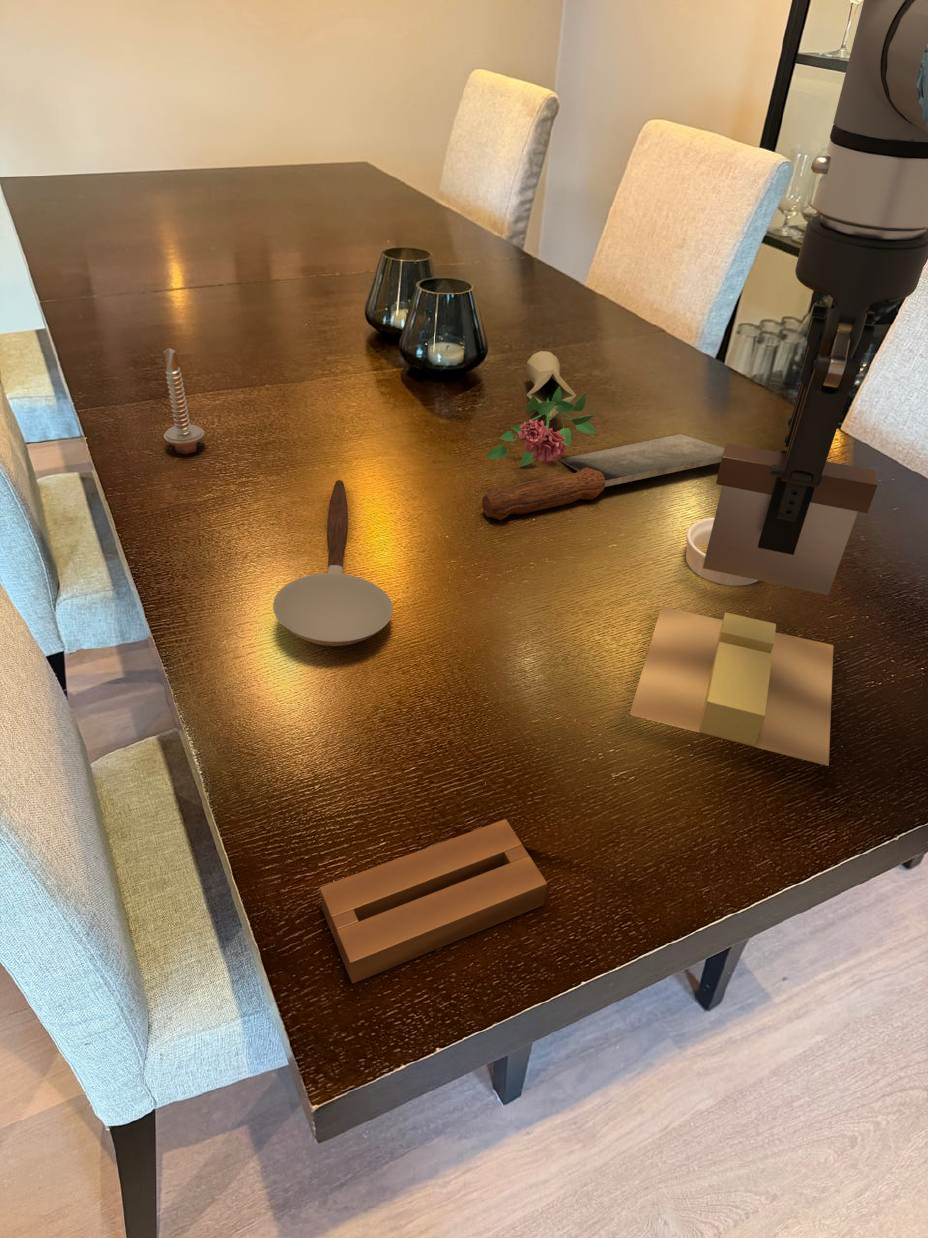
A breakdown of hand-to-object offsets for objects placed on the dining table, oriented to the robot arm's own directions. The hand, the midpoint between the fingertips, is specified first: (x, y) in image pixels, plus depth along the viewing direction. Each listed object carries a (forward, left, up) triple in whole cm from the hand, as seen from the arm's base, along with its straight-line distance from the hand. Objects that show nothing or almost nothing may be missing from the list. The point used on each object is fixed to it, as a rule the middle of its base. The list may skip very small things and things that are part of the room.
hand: (777, 537), depth 70 cm
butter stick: (-5, 0, -14) cm, 15 cm away
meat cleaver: (+32, +20, -16) cm, 41 cm away
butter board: (-1, 0, -16) cm, 16 cm away
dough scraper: (0, 0, -4) cm, 4 cm away
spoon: (+4, +41, -16) cm, 44 cm away
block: (-31, +17, -16) cm, 38 cm away
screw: (+19, +69, -16) cm, 73 cm away
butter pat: (+2, 0, -14) cm, 14 cm away
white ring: (+17, +3, -16) cm, 24 cm away
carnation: (+56, +33, -13) cm, 66 cm away
